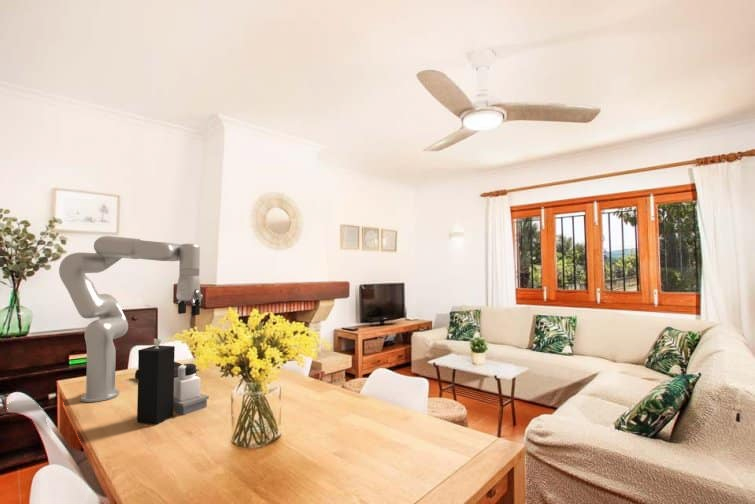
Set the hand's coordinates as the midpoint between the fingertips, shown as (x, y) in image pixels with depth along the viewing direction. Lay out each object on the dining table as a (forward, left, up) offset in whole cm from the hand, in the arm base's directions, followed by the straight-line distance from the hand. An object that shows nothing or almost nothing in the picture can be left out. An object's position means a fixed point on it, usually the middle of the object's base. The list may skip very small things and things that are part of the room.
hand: (188, 314), depth 156 cm
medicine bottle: (+13, -8, -30) cm, 33 cm away
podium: (+13, -8, -33) cm, 37 cm away
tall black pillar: (+14, -20, -34) cm, 41 cm away
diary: (-30, +8, -34) cm, 46 cm away
